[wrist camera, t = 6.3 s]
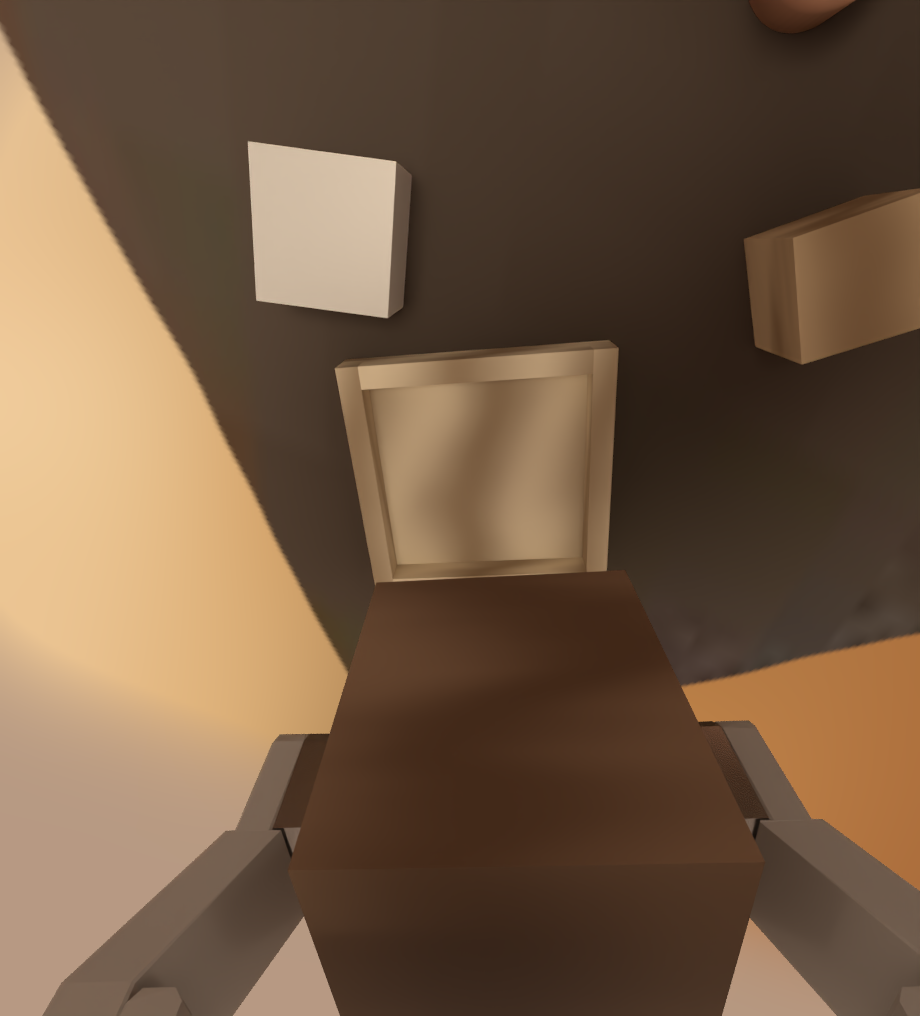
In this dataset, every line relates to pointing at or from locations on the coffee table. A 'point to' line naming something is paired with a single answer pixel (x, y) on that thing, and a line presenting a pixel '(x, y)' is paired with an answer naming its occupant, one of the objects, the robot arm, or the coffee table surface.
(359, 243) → the white plastic block
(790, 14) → the pinkish tan rounded lump
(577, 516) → the birch tray
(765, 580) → the coffee table surface
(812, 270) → the oak block
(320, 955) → the walnut block
